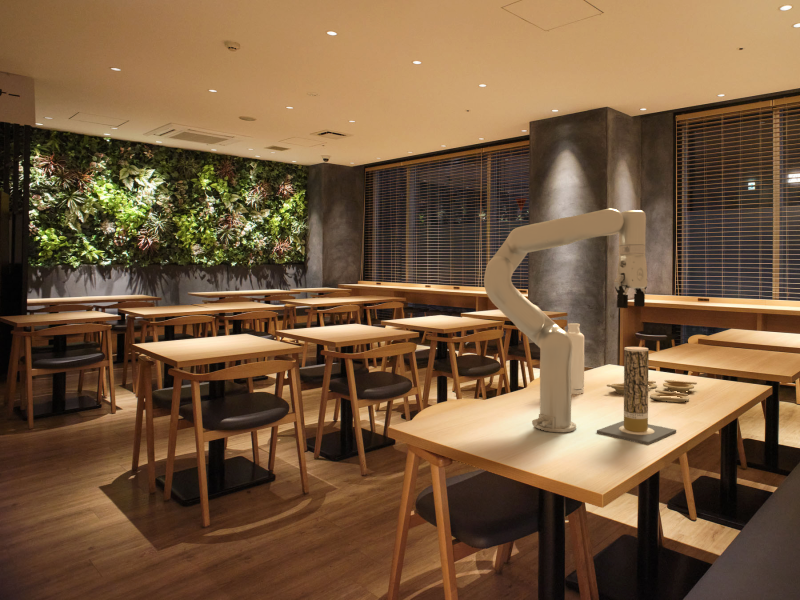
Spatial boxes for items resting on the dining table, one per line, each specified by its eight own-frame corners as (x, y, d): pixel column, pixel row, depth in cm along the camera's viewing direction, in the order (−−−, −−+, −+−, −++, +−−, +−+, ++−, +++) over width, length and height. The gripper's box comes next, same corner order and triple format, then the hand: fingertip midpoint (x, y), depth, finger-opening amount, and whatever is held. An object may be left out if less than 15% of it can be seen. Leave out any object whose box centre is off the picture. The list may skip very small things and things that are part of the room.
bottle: (581, 395, 224) (581, 325, 223) (560, 392, 229) (561, 324, 227) (586, 391, 231) (586, 323, 230) (566, 389, 236) (566, 322, 234)
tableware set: (684, 406, 205) (684, 395, 205) (602, 396, 223) (603, 386, 223) (701, 389, 233) (701, 380, 233) (627, 382, 251) (628, 373, 251)
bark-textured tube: (650, 433, 168) (651, 349, 167) (626, 432, 169) (626, 349, 168) (645, 427, 174) (645, 346, 173) (621, 426, 176) (622, 346, 175)
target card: (648, 444, 160) (648, 441, 160) (596, 432, 172) (596, 430, 172) (676, 432, 172) (676, 429, 172) (626, 422, 184) (626, 419, 184)
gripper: (628, 250, 164) (627, 309, 165) (658, 251, 175) (656, 306, 176) (604, 251, 170) (604, 307, 171) (635, 252, 181) (634, 305, 182)
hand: (630, 307), depth 173 cm, fingers open, 9 cm apart
